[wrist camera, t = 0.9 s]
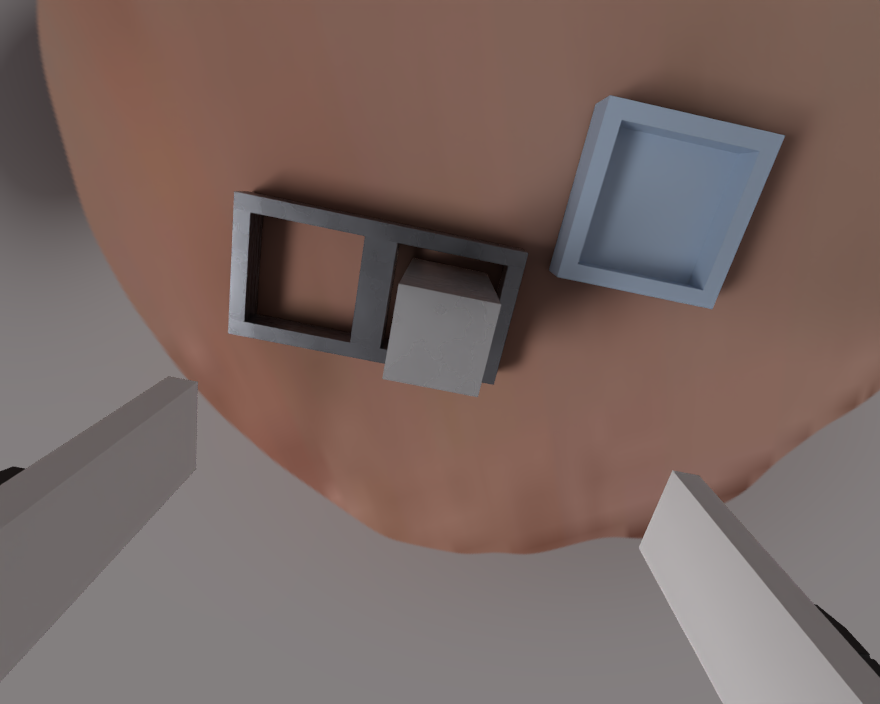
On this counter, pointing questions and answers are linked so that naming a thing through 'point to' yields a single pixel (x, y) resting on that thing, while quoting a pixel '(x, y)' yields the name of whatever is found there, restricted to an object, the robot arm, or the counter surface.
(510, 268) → the rack frame
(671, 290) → the parts tray
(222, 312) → the counter surface
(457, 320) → the grey rectangular block
